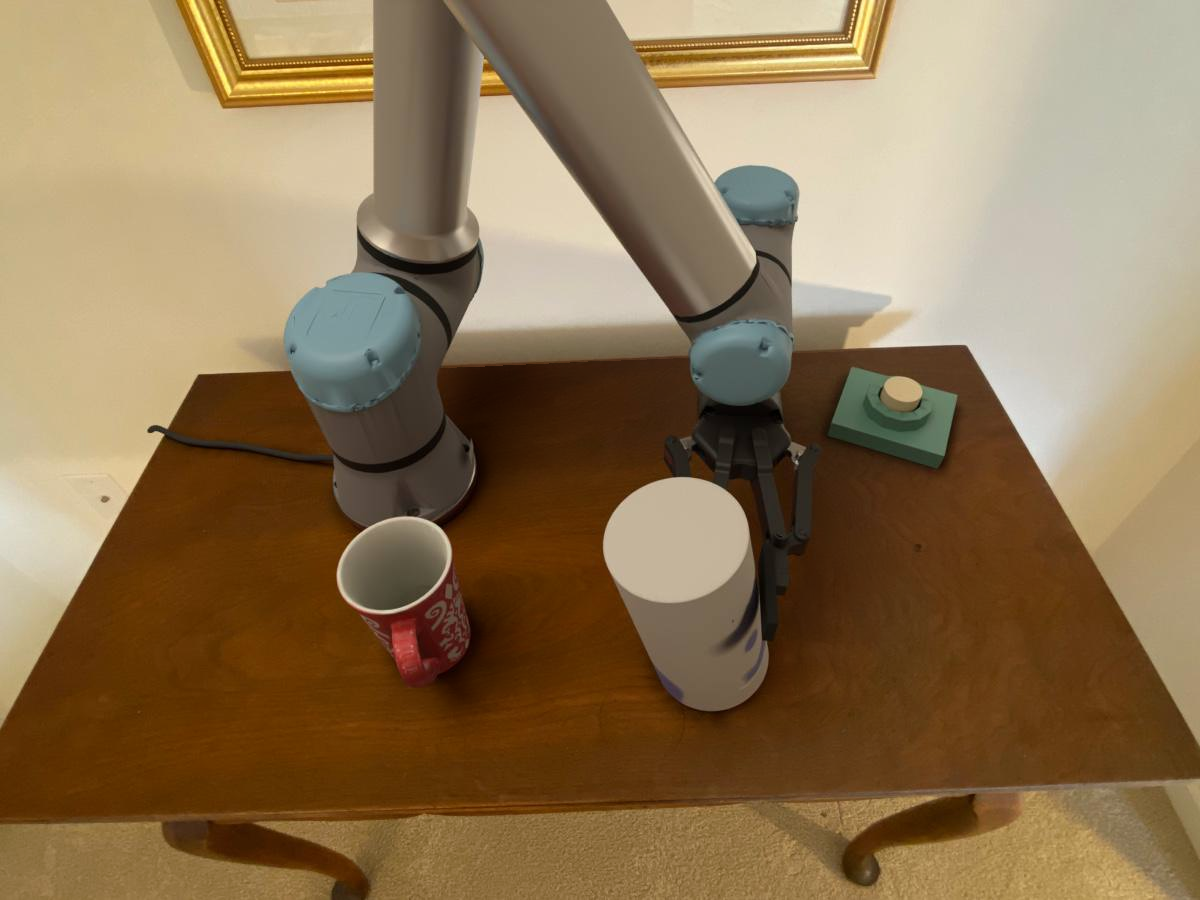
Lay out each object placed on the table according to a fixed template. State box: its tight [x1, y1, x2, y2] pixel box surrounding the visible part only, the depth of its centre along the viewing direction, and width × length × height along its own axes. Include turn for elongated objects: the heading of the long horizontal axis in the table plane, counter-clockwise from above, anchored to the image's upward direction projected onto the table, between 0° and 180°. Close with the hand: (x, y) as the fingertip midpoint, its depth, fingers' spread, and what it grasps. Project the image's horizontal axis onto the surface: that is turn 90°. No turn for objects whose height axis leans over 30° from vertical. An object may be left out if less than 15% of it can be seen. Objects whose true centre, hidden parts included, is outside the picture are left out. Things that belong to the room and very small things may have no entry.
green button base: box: [827, 366, 958, 470], centre depth 80 cm, size 12×10×4 cm
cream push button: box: [880, 375, 923, 413], centre depth 78 cm, size 4×4×2 cm
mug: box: [335, 516, 471, 689], centre depth 60 cm, size 13×9×14 cm
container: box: [602, 477, 770, 712], centre depth 56 cm, size 10×10×20 cm
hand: (747, 630), depth 50 cm, fingers open, 2 cm apart
